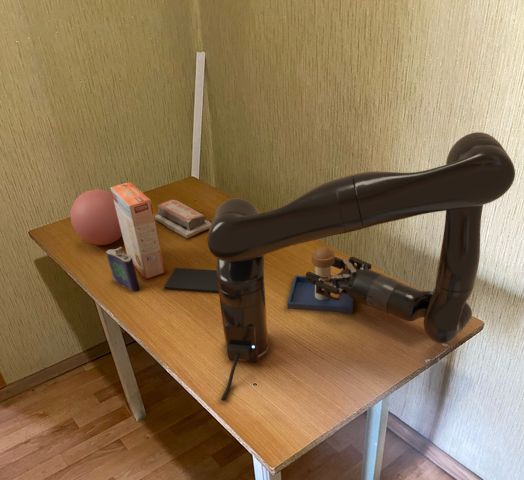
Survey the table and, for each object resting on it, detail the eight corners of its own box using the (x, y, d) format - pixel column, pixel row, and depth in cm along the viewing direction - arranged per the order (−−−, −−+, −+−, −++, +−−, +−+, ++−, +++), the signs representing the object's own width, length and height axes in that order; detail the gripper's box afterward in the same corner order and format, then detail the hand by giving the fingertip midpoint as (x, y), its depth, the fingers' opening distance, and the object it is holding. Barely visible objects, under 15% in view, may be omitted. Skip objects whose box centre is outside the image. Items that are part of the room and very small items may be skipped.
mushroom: (332, 302, 126) (333, 254, 117) (310, 301, 127) (310, 253, 118) (334, 290, 130) (336, 242, 121) (313, 289, 131) (313, 241, 122)
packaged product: (150, 205, 161) (177, 194, 166) (153, 220, 164) (180, 209, 169) (184, 224, 150) (212, 212, 155) (187, 239, 154) (214, 227, 158)
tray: (352, 314, 123) (352, 307, 122) (287, 309, 126) (287, 303, 124) (355, 285, 132) (356, 279, 130) (295, 281, 134) (295, 275, 133)
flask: (112, 281, 139) (101, 245, 132) (120, 276, 141) (111, 240, 134) (134, 293, 134) (125, 256, 127) (143, 287, 136) (134, 251, 129)
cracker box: (166, 273, 141) (151, 199, 127) (145, 280, 138) (127, 206, 125) (147, 251, 150) (131, 180, 136) (127, 257, 148) (108, 186, 134)
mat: (241, 294, 131) (240, 292, 131) (164, 289, 135) (164, 286, 134) (248, 274, 138) (248, 272, 137) (176, 270, 141) (175, 267, 141)
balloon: (155, 234, 157) (145, 184, 147) (96, 261, 147) (81, 210, 137) (127, 218, 166) (115, 170, 156) (69, 243, 156) (53, 193, 146)
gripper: (396, 262, 117) (336, 240, 126) (360, 292, 109) (298, 267, 118) (392, 290, 122) (335, 268, 130) (358, 321, 114) (299, 294, 123)
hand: (318, 267), depth 124 cm, fingers open, 8 cm apart
